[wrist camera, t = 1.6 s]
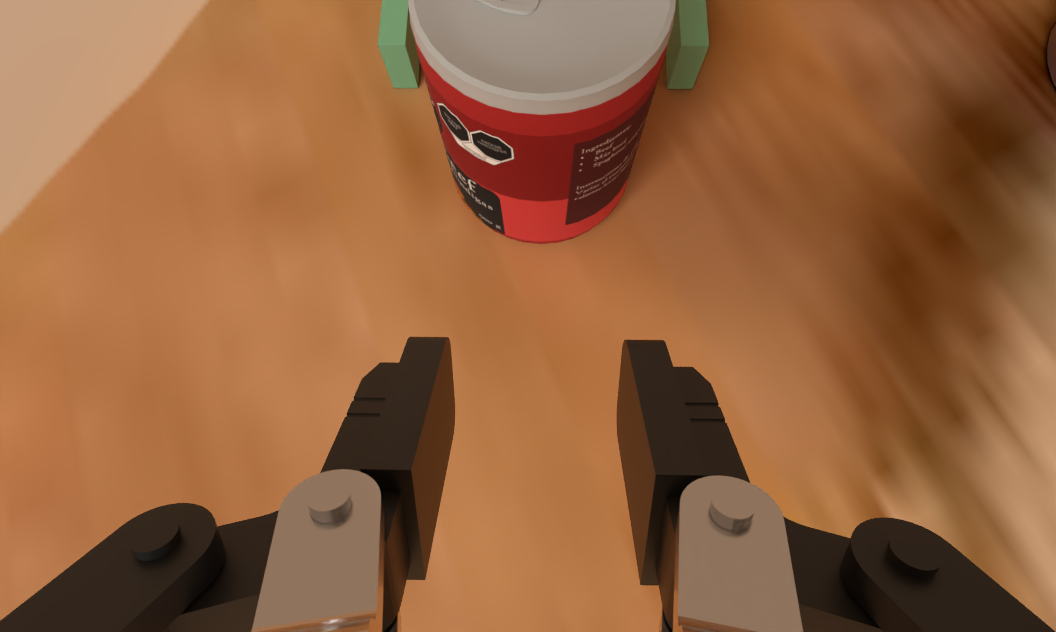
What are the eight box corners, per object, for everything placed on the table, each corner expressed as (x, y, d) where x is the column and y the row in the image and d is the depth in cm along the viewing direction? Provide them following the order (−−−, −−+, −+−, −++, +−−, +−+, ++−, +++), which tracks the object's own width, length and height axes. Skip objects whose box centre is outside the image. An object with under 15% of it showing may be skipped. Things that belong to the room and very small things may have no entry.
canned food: (451, 106, 29) (402, -107, 19) (617, 95, 30) (661, -125, 19) (457, 256, 27) (406, 111, 17) (635, 243, 27) (696, 90, 17)
